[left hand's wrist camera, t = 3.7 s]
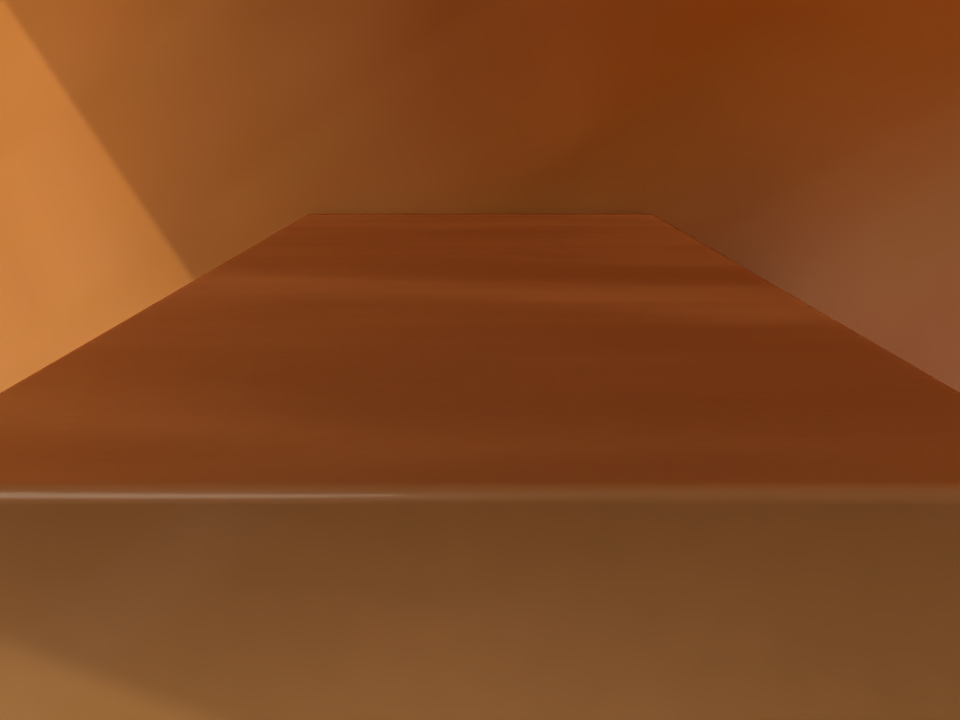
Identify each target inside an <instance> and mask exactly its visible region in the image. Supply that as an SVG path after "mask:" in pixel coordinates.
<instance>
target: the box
mask: <svg viewBox="0 0 960 720" xmlns="http://www.w3.org/2000/svg"><path fill="white" fill-rule="evenodd" d="M0 720H960V393H959V392H957V391H956V390H954V389H952V388H950V387H949V386H947V385H945V384H944V383H942V382H940V381H938V380H937V379H935V378H933V377H931V376H930V375H928V374H926V373H925V372H923V371H921V370H919V369H918V368H916V367H914V366H912V365H911V364H909V363H907V362H906V361H904V360H902V359H900V358H899V357H897V356H895V355H894V354H892V353H890V352H888V351H887V350H885V349H883V348H881V347H880V346H878V345H876V344H875V343H873V342H871V341H869V340H868V339H866V338H864V337H862V336H861V335H859V334H857V333H856V332H854V331H852V330H850V329H849V328H847V327H845V326H844V325H842V324H840V323H838V322H837V321H835V320H833V319H831V318H830V317H828V316H826V315H825V314H823V313H821V312H819V311H818V310H816V309H814V308H813V307H811V306H809V305H807V304H806V303H804V302H802V301H800V300H799V299H797V298H795V297H794V296H792V295H790V294H788V293H787V292H785V291H783V290H781V289H780V288H778V287H776V286H775V285H773V284H771V283H769V282H768V281H766V280H764V279H763V278H761V277H759V276H757V275H756V274H754V273H752V272H750V271H749V270H747V269H745V268H744V267H742V266H740V265H738V264H737V263H735V262H733V261H732V260H730V259H728V258H726V257H725V256H723V255H721V254H719V253H718V252H716V251H714V250H713V249H711V248H709V247H707V246H706V245H704V244H702V243H700V242H699V241H697V240H695V239H694V238H692V237H690V236H688V235H687V234H685V233H683V232H682V231H680V230H678V229H676V228H675V227H673V226H671V225H669V224H668V223H666V222H664V221H663V220H661V219H659V218H657V217H656V216H654V215H652V214H309V215H307V216H305V217H303V218H301V219H300V220H298V221H296V222H294V223H293V224H291V225H289V226H288V227H286V228H284V229H282V230H281V231H279V232H277V233H275V234H274V235H272V236H270V237H269V238H267V239H265V240H263V241H262V242H260V243H258V244H257V245H255V246H253V247H251V248H250V249H248V250H246V251H244V252H243V253H241V254H239V255H238V256H236V257H234V258H232V259H231V260H229V261H227V262H226V263H224V264H222V265H220V266H219V267H217V268H215V269H213V270H212V271H210V272H208V273H207V274H205V275H203V276H201V277H200V278H198V279H196V280H194V281H193V282H191V283H189V284H188V285H186V286H184V287H182V288H181V289H179V290H177V291H176V292H174V293H172V294H170V295H169V296H167V297H165V298H163V299H162V300H160V301H158V302H157V303H155V304H153V305H151V306H150V307H148V308H146V309H144V310H143V311H141V312H139V313H138V314H136V315H134V316H132V317H131V318H129V319H127V320H126V321H124V322H122V323H120V324H119V325H117V326H115V327H113V328H112V329H110V330H108V331H107V332H105V333H103V334H101V335H100V336H98V337H96V338H95V339H93V340H91V341H89V342H88V343H86V344H84V345H82V346H81V347H79V348H77V349H76V350H74V351H72V352H70V353H69V354H67V355H65V356H63V357H62V358H60V359H58V360H57V361H55V362H53V363H51V364H50V365H48V366H46V367H45V368H43V369H41V370H39V371H38V372H36V373H34V374H32V375H31V376H29V377H27V378H26V379H24V380H22V381H20V382H19V383H17V384H15V385H13V386H12V387H10V388H8V389H7V390H5V391H3V392H1V393H0Z"/></svg>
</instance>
